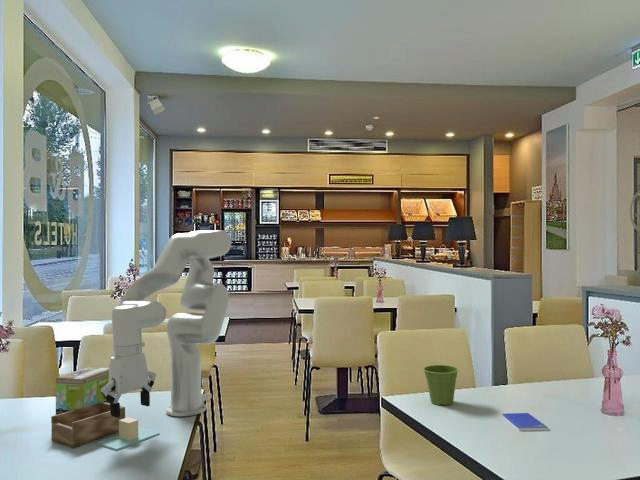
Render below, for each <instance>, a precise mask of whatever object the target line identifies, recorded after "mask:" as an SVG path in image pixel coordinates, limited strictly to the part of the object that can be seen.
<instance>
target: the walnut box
mask: <svg viewBox="0 0 640 480" xmlns="http://www.w3.org/2000/svg"><path fill="white" fill-rule="evenodd" d="M50 417H51V418H50V419H51V421H50V423H51V442H54V443H56V444H59V445H61V446H65V447H67V448H70V449H73V450H74V449H76V448H78V447H82V446H85V445H88V444H91V443H93V442H98V441H101V440H102V439H103V440H104V439H106V438H109V437H112V436H113V435H114V436H115V435H118V434H119V420H121V419H125V418H126V406H122V405H120V417H118V418H117V417H113V416H111V412H110V403H107V402H101V403H97V404H93V405H90V406H86V407H83V408H79V409H76V410H72V411H69V412H65V413H62V414H58V415H56V414H55V415H51V416H50Z"/></svg>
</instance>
